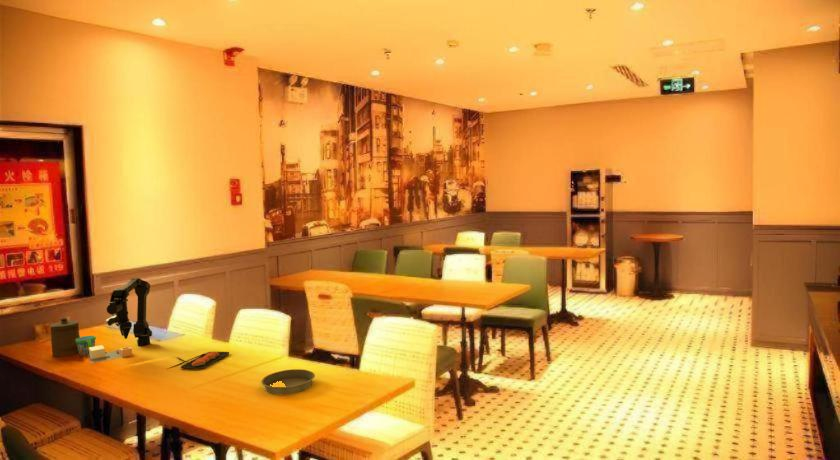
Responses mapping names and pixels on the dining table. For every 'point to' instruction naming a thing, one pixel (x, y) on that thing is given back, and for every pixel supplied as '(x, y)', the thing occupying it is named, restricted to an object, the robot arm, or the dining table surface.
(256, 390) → the dining table surface
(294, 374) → the cake pan
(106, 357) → the base plate
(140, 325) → the robot arm
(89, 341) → the snack cup
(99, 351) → the cover
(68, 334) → the dark grey canister
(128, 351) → the orange hollow square block
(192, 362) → the sushi plate
